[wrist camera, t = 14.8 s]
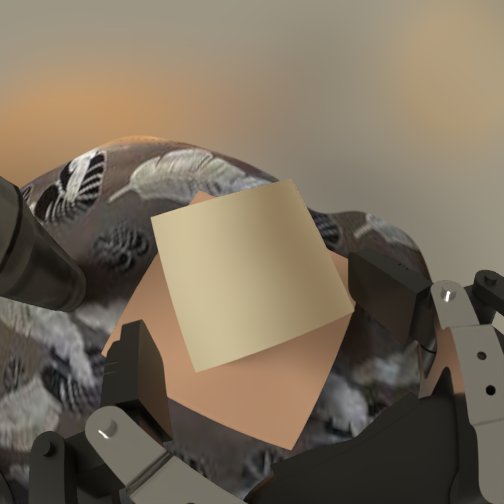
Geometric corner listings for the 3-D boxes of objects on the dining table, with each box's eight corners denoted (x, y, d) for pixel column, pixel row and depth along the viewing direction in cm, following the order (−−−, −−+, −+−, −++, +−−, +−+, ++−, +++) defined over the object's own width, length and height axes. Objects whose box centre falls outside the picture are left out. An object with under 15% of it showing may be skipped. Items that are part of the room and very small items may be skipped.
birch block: (214, 364, 16) (195, 372, 7) (189, 292, 18) (150, 217, 9) (288, 338, 17) (354, 311, 8) (260, 268, 19) (291, 178, 10)
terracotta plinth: (121, 355, 19) (101, 353, 16) (202, 215, 24) (199, 190, 21) (280, 435, 18) (291, 450, 14) (346, 283, 23) (366, 268, 19)
